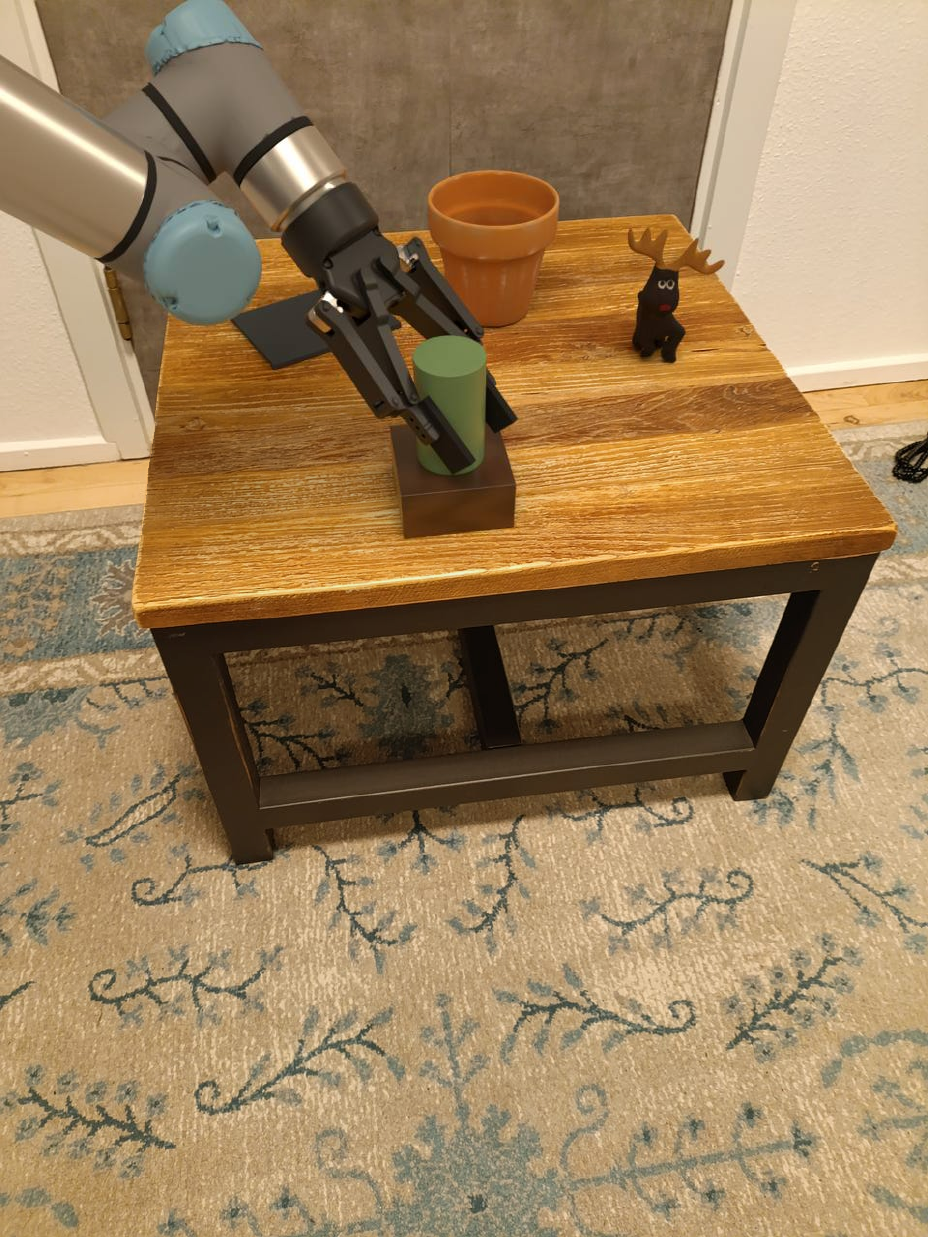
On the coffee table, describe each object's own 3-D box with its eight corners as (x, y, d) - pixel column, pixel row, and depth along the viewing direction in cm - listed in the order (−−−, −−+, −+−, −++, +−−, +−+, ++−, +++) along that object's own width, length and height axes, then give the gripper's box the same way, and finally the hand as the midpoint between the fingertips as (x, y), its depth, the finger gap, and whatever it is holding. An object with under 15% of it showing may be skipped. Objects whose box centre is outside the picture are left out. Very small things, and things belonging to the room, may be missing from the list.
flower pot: (430, 278, 110) (427, 169, 100) (545, 277, 110) (553, 167, 101) (430, 341, 101) (427, 227, 91) (555, 339, 101) (565, 226, 91)
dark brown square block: (404, 538, 80) (401, 496, 76) (392, 468, 86) (389, 425, 82) (514, 527, 81) (516, 484, 77) (494, 457, 87) (495, 415, 83)
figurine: (612, 371, 97) (631, 236, 86) (604, 336, 102) (622, 203, 90) (709, 371, 97) (741, 236, 86) (697, 335, 102) (726, 202, 90)
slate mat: (274, 370, 97) (273, 365, 97) (230, 320, 104) (229, 316, 103) (401, 327, 103) (401, 322, 102) (352, 283, 109) (352, 278, 109)
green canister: (439, 484, 77) (437, 384, 69) (404, 447, 80) (398, 348, 73) (497, 460, 79) (501, 361, 72) (460, 425, 82) (460, 327, 75)
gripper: (363, 190, 78) (515, 406, 85) (210, 281, 68) (397, 521, 74) (410, 139, 72) (569, 376, 79) (250, 230, 62) (449, 495, 68)
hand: (485, 446), depth 77 cm, fingers open, 6 cm apart
